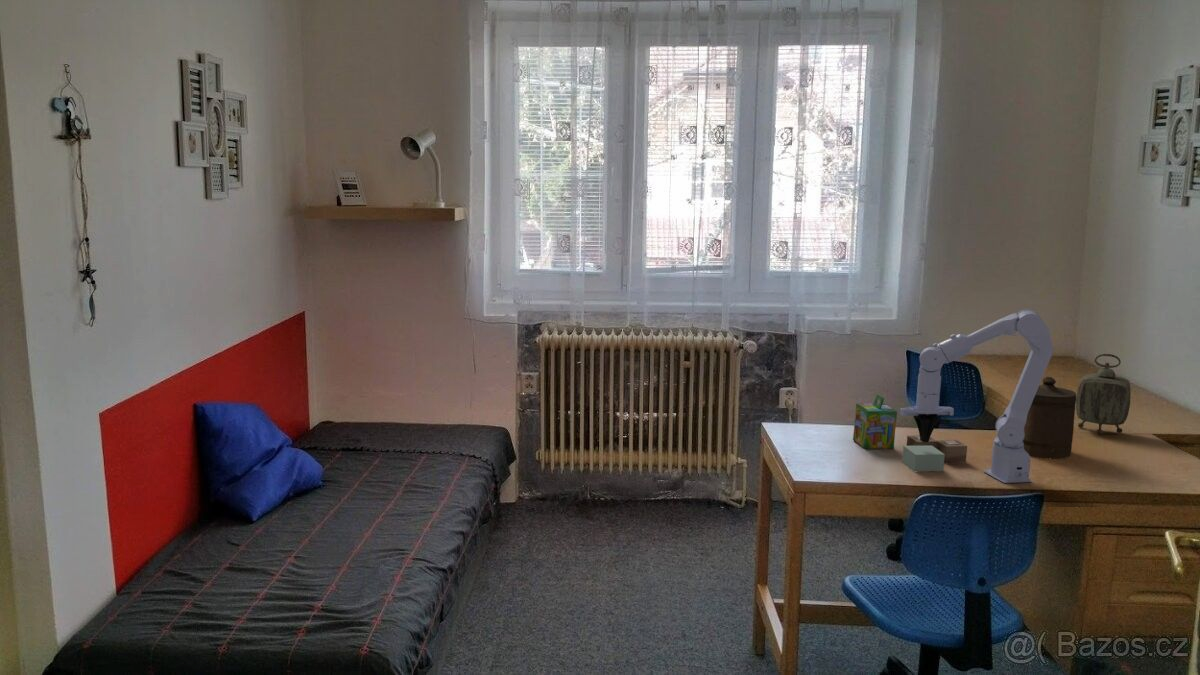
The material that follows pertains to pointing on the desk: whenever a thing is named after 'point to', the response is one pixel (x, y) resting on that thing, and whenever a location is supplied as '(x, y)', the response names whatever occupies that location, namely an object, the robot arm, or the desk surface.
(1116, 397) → the tabletop clock
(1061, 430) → the wooden container
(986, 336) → the robot arm
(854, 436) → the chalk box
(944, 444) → the walnut block
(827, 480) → the desk surface
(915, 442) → the walnut block
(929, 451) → the sage block
